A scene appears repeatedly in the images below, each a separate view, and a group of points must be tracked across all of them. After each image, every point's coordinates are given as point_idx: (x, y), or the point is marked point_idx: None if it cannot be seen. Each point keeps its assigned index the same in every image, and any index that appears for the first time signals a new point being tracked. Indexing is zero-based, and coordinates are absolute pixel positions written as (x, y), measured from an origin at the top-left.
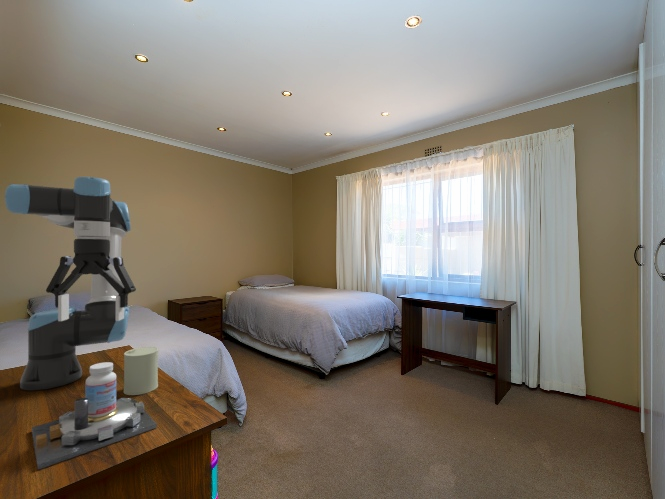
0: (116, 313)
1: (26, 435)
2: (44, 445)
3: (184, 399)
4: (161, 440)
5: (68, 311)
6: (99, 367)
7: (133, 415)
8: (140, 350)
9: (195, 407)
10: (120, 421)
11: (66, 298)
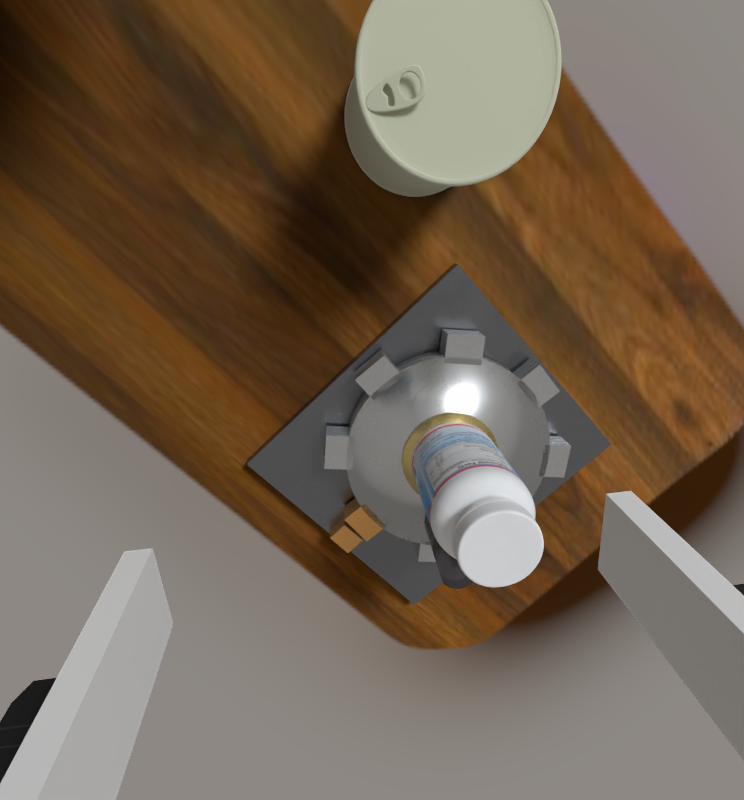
0: (641, 615)
1: (252, 476)
2: (367, 543)
3: (639, 245)
4: (637, 494)
5: (130, 602)
6: (508, 573)
7: (555, 459)
8: (439, 42)
9: (691, 313)
10: (534, 493)
11: (80, 778)
